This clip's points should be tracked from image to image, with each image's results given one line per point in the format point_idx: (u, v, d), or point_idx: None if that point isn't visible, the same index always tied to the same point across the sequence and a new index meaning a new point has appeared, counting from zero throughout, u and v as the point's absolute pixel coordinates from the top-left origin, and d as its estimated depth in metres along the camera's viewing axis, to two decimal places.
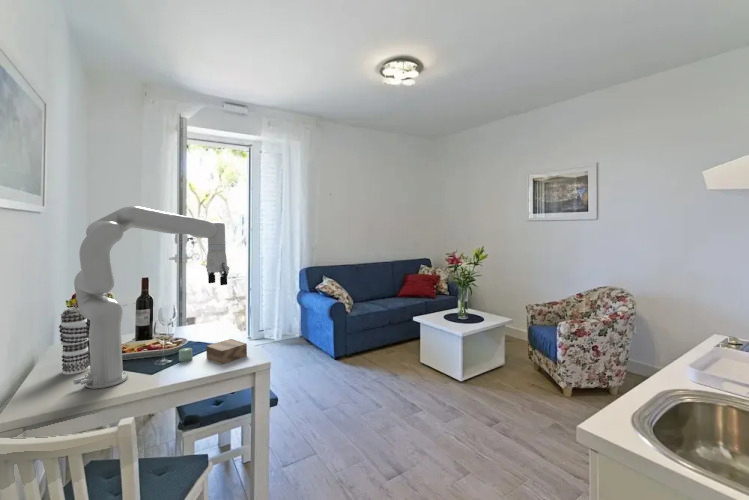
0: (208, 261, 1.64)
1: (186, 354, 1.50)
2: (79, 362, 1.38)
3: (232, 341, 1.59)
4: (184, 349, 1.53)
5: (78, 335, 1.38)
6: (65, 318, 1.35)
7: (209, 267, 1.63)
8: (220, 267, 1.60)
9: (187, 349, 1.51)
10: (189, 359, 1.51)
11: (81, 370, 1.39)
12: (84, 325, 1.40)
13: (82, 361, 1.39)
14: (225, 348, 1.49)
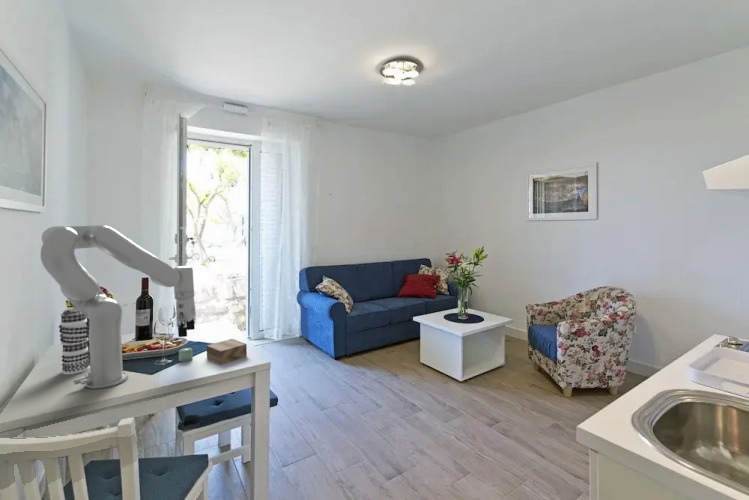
0: (190, 309, 1.49)
1: (186, 354, 1.50)
2: (79, 362, 1.38)
3: (232, 341, 1.59)
4: (185, 348, 1.53)
5: (78, 335, 1.38)
6: (65, 318, 1.35)
7: (191, 315, 1.50)
8: None
9: (187, 349, 1.51)
10: (189, 359, 1.51)
11: (81, 370, 1.39)
12: (84, 325, 1.40)
13: (82, 361, 1.39)
14: (224, 348, 1.49)
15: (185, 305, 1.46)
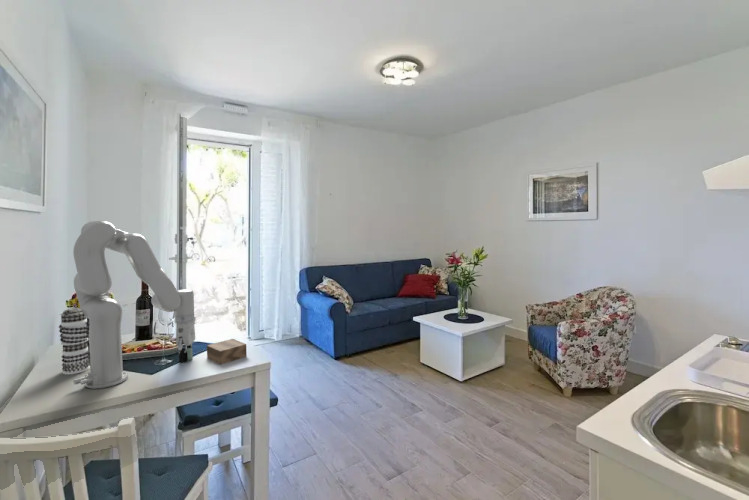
0: (189, 333, 1.49)
1: None
2: (79, 362, 1.38)
3: (233, 341, 1.59)
4: None
5: (78, 335, 1.38)
6: (65, 318, 1.35)
7: (190, 339, 1.50)
8: None
9: (187, 349, 1.51)
10: (189, 359, 1.51)
11: (81, 370, 1.39)
12: (84, 325, 1.40)
13: (82, 361, 1.39)
14: (224, 348, 1.49)
15: (185, 329, 1.47)
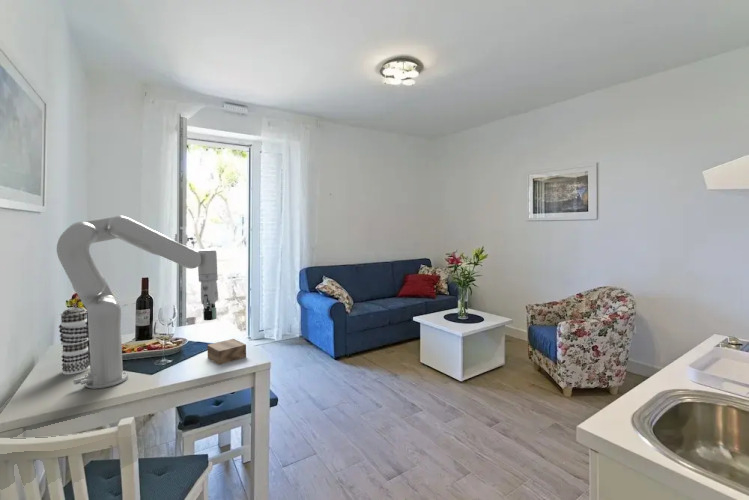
0: (213, 292, 1.50)
1: None
2: (79, 362, 1.38)
3: (233, 341, 1.59)
4: None
5: (78, 335, 1.38)
6: (65, 318, 1.35)
7: (214, 298, 1.51)
8: None
9: (211, 308, 1.52)
10: (214, 318, 1.52)
11: (81, 370, 1.39)
12: (84, 325, 1.40)
13: (82, 361, 1.39)
14: (223, 348, 1.49)
15: (210, 287, 1.48)
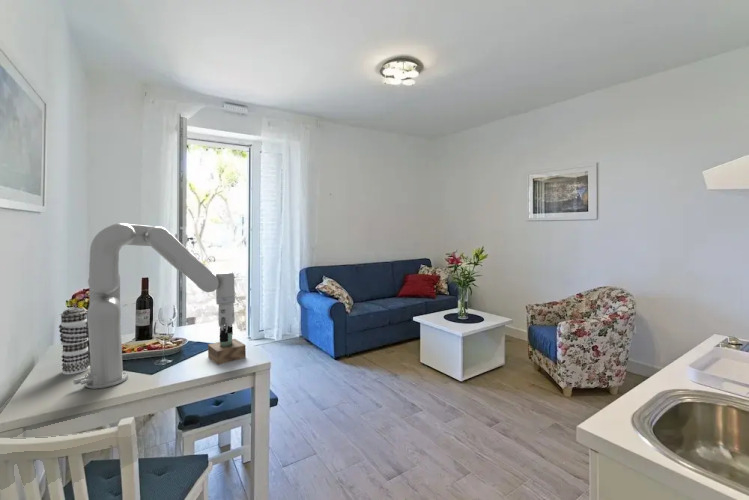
0: (231, 315, 1.52)
1: None
2: (79, 362, 1.38)
3: (234, 342, 1.58)
4: None
5: (78, 335, 1.38)
6: (65, 318, 1.35)
7: (231, 320, 1.53)
8: None
9: None
10: (230, 344, 1.53)
11: (81, 370, 1.39)
12: (84, 325, 1.40)
13: (82, 361, 1.39)
14: (222, 349, 1.49)
15: (227, 310, 1.49)
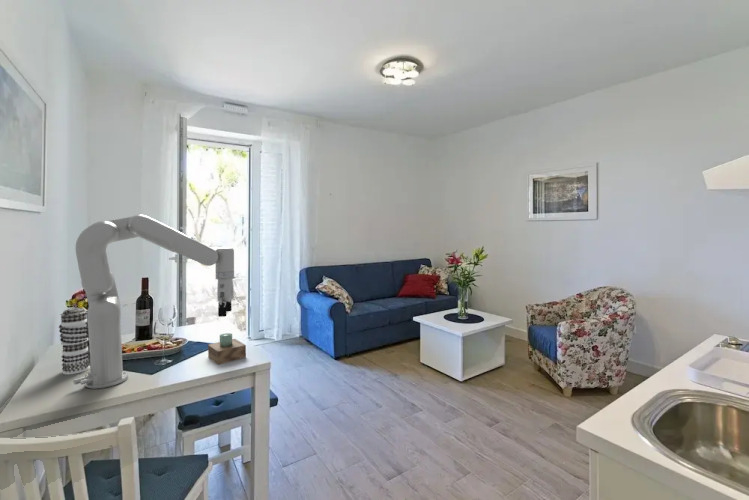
0: (230, 290, 1.51)
1: (227, 339, 1.52)
2: (79, 362, 1.38)
3: (234, 342, 1.58)
4: (224, 334, 1.55)
5: (78, 335, 1.38)
6: (65, 318, 1.35)
7: (230, 296, 1.52)
8: None
9: (227, 335, 1.54)
10: (230, 344, 1.53)
11: (81, 370, 1.39)
12: (84, 325, 1.40)
13: (82, 361, 1.39)
14: (222, 349, 1.49)
15: (226, 285, 1.49)
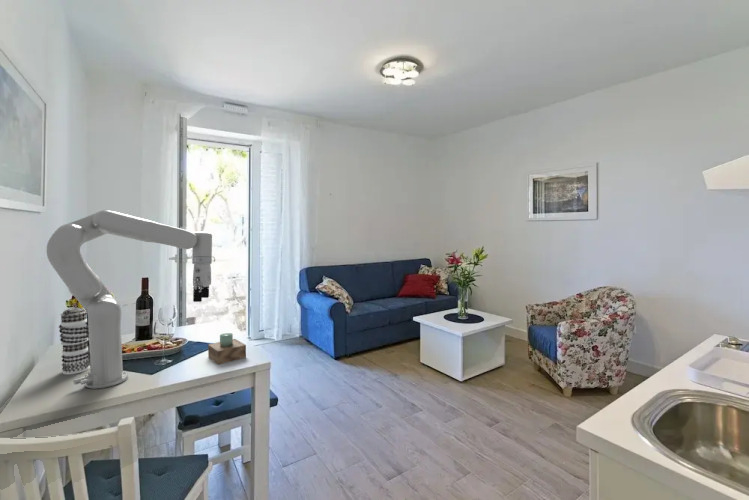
0: (206, 275, 1.48)
1: (227, 339, 1.52)
2: (79, 362, 1.38)
3: (234, 341, 1.58)
4: (225, 334, 1.55)
5: (78, 335, 1.38)
6: (65, 318, 1.35)
7: (207, 281, 1.49)
8: None
9: (228, 335, 1.54)
10: (230, 344, 1.53)
11: (81, 370, 1.39)
12: (84, 325, 1.40)
13: (82, 361, 1.39)
14: (222, 349, 1.49)
15: (202, 270, 1.46)
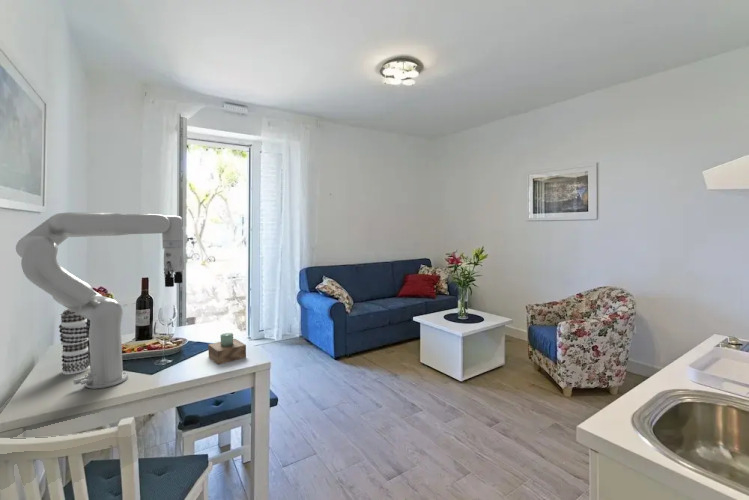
0: (177, 260, 1.46)
1: (228, 339, 1.52)
2: (79, 362, 1.38)
3: (234, 341, 1.59)
4: (226, 334, 1.55)
5: (78, 335, 1.38)
6: (65, 318, 1.35)
7: (178, 266, 1.47)
8: None
9: (228, 334, 1.54)
10: (231, 344, 1.53)
11: (81, 370, 1.39)
12: (84, 325, 1.40)
13: (82, 361, 1.39)
14: (222, 349, 1.49)
15: (173, 254, 1.43)
